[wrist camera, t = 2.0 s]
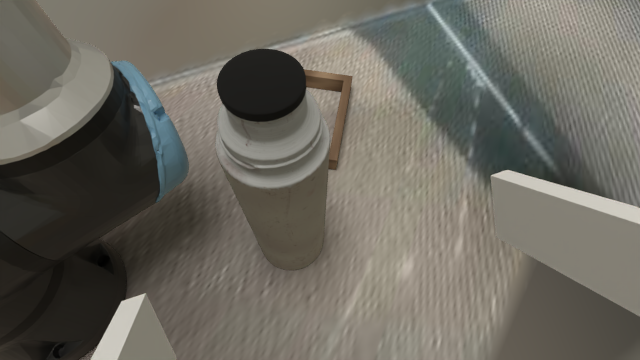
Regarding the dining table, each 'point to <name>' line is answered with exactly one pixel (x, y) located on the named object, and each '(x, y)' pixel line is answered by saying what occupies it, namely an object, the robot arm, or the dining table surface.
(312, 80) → the walnut square frame
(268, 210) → the thermos bottle
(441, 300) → the dining table surface
